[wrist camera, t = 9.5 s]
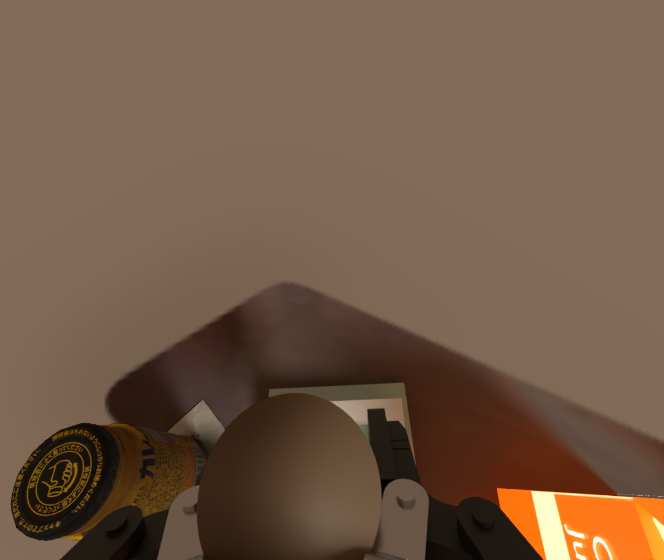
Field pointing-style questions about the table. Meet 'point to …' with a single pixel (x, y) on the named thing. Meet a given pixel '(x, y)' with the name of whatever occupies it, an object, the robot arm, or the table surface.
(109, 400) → the table surface
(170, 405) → the table surface
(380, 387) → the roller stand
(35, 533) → the condiment
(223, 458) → the roller
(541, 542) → the orange juice
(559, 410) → the table surface
